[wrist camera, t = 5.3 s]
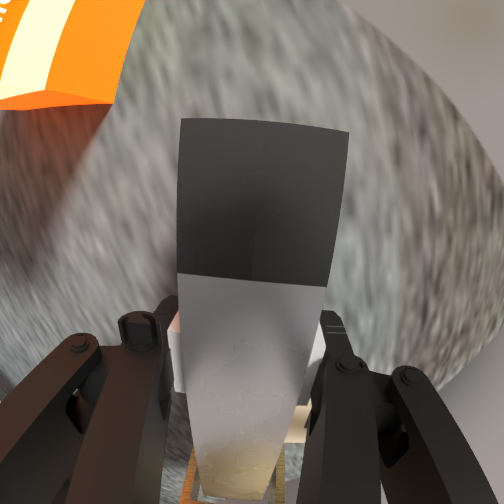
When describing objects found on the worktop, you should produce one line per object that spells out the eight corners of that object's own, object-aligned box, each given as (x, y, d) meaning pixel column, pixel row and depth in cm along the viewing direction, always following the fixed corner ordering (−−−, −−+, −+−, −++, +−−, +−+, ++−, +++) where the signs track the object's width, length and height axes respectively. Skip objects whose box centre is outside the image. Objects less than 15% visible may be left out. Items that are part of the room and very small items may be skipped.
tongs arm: (265, 389, 18) (261, 500, 10) (244, 387, 18) (232, 498, 10) (297, 147, 13) (349, 132, 4) (266, 144, 13) (265, 120, 4)
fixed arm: (244, 384, 19) (232, 498, 10) (224, 382, 19) (203, 495, 10) (266, 144, 13) (265, 120, 4) (236, 142, 13) (181, 118, 4)
